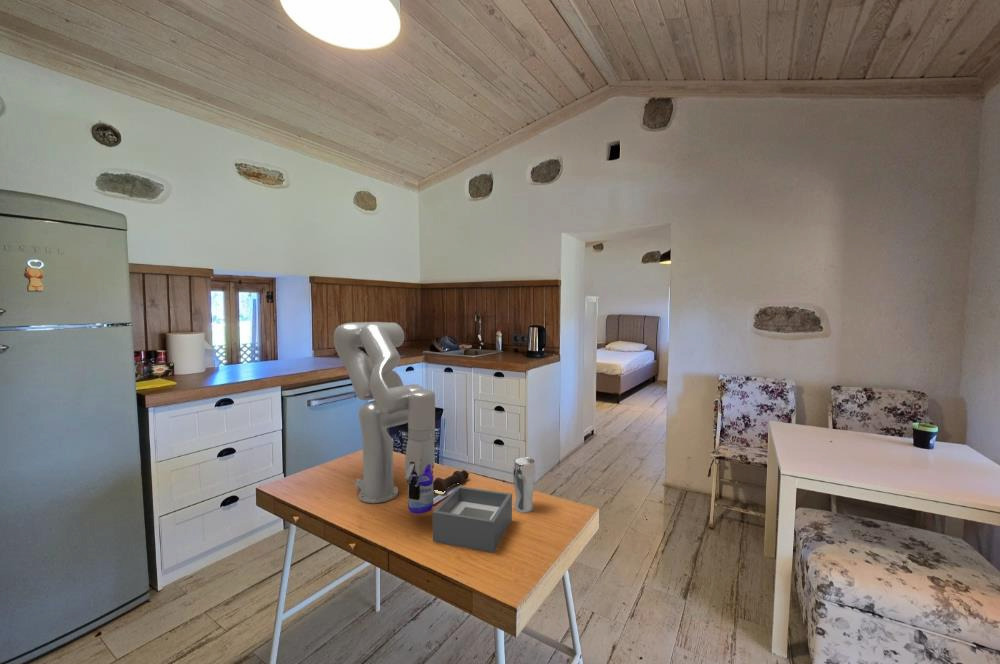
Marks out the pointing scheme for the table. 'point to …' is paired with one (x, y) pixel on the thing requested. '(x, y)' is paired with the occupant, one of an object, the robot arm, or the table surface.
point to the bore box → (473, 518)
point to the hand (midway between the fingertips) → (420, 492)
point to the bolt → (450, 480)
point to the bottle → (423, 493)
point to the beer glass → (524, 483)
